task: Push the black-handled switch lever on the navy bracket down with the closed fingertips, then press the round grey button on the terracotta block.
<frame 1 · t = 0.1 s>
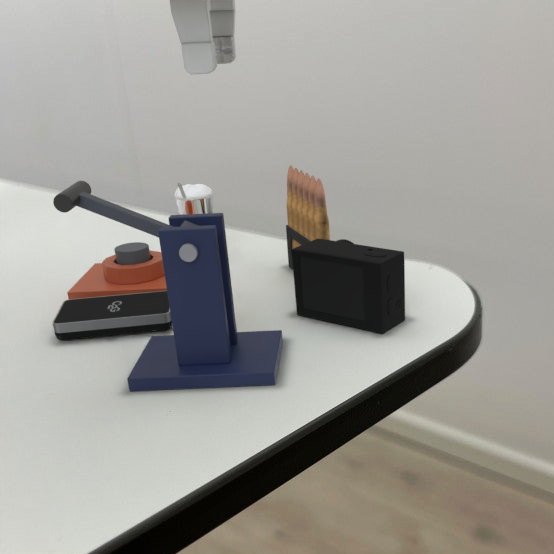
hand: (213, 68, 51), 25 cm above the table, tool pointing down, fingers open, 8 cm apart
milkshake: (200, 259, 96), on the table
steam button: (132, 254, 83), point 4 cm above the table, slide at 0.1 cm
external hard drive: (119, 326, 77), on the table
button block: (139, 293, 85), on the table
switch lever: (138, 221, 61), point 13 cm above the table, hinge at 25.0°
digital camera: (354, 317, 76), on the table
switch bracket: (210, 365, 67), on the table
ammunition clip: (311, 278, 88), on the table
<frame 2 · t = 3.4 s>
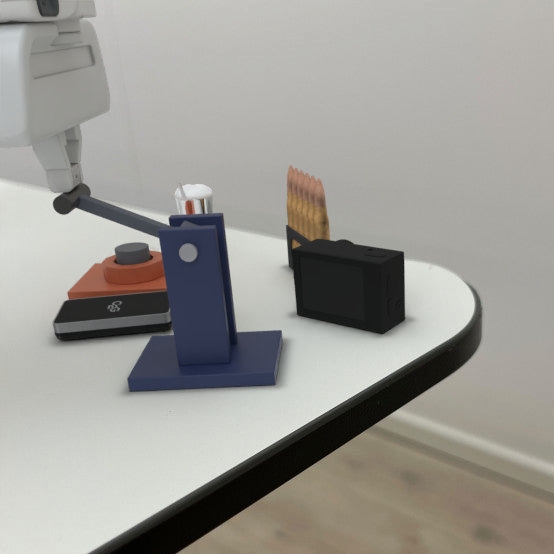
hand: (67, 188, 60), 16 cm above the table, tool pointing down, fingers closed, pressing on switch lever
switch lever: (138, 222, 62), point 13 cm above the table, hinge at 23.8°, touching gripper
everything else where it was.
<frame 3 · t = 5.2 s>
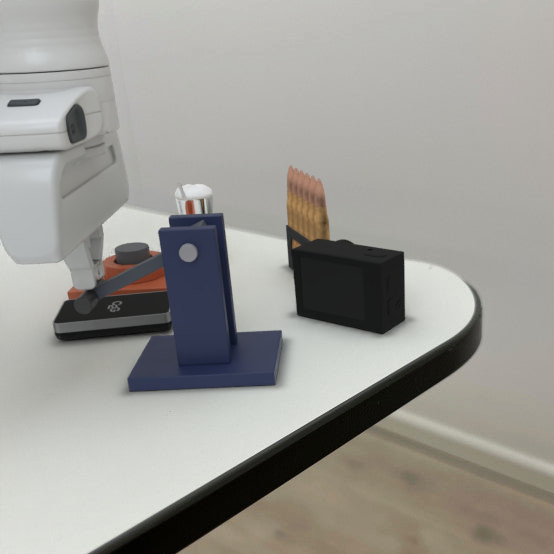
hand: (90, 284, 64), 8 cm above the table, tool pointing down, fingers closed, pressing on switch lever
switch lever: (146, 267, 63), point 9 cm above the table, hinge at -24.3°, touching gripper
everything else where it was.
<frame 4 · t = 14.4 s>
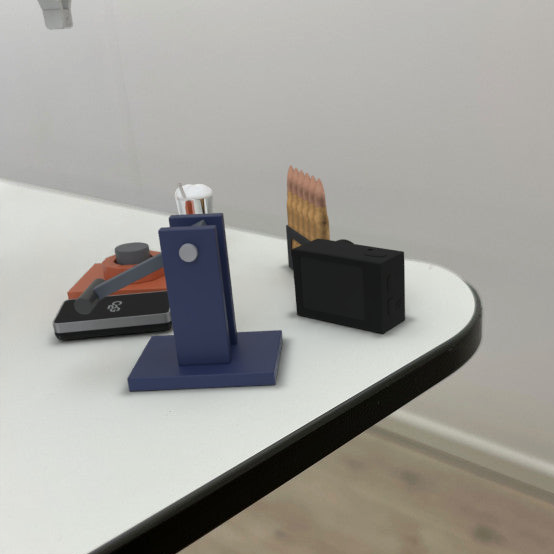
hand: (60, 29, 75), 27 cm above the table, tool pointing down, fingers closed
switch lever: (146, 267, 63), point 9 cm above the table, hinge at -24.4°
everything else where it was.
at the end: switch lever at -24° (first picture: +25°); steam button pushed in 1.0 cm at the most during the clip, back to where it started at the end; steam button slide at 0.1 cm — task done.
